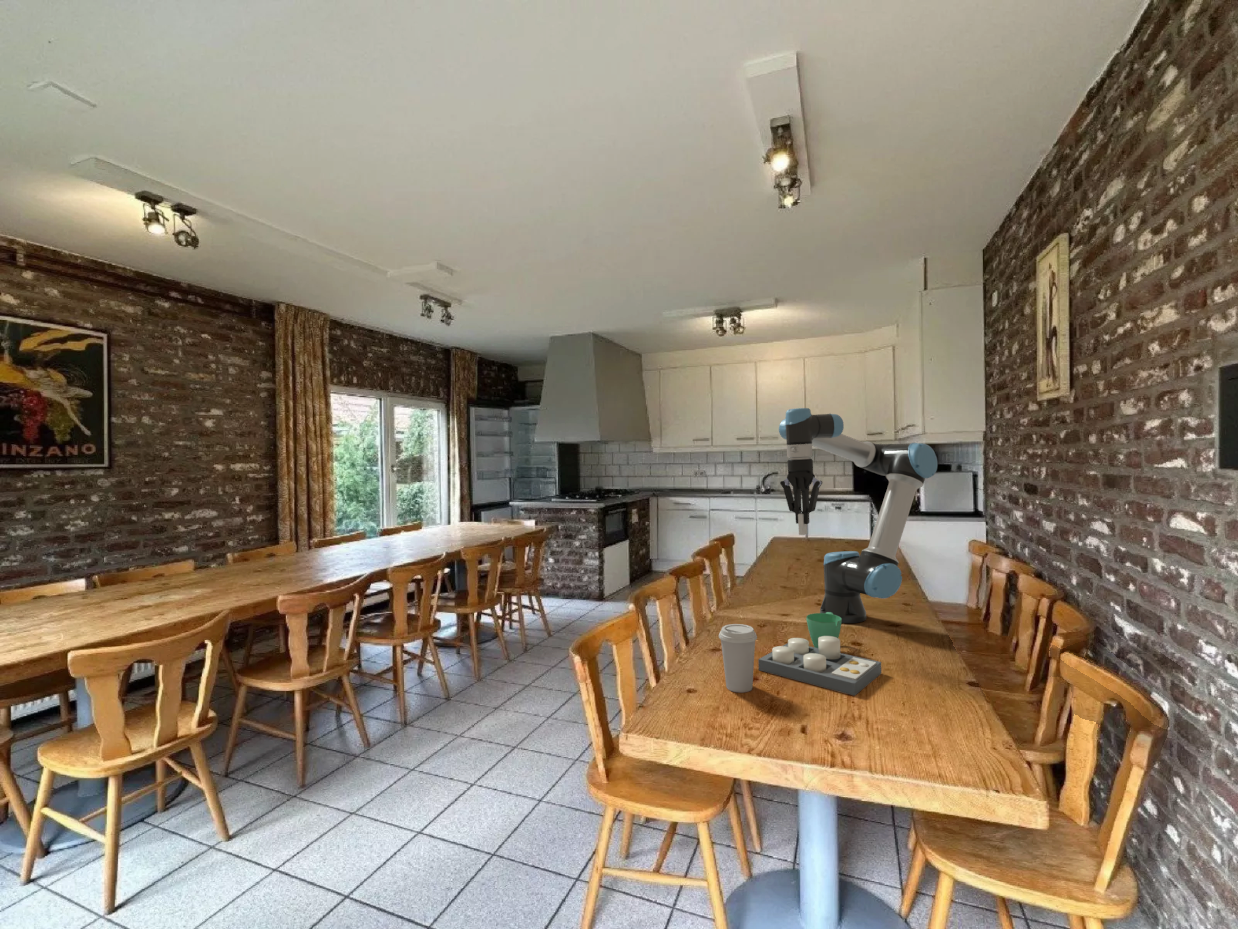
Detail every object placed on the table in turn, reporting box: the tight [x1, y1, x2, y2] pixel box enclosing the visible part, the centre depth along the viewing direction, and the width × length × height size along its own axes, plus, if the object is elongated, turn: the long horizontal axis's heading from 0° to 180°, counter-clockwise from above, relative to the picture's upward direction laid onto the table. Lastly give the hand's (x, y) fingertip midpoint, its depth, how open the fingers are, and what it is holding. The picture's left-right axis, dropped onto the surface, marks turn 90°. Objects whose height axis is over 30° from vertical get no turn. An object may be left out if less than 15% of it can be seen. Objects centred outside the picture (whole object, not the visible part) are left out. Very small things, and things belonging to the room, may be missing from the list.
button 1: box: [771, 645, 794, 665], centre depth 156 cm, size 6×6×4 cm
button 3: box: [803, 653, 826, 673], centre depth 149 cm, size 6×6×4 cm
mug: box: [805, 612, 842, 648], centre depth 171 cm, size 15×10×10 cm
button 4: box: [818, 636, 841, 659], centre depth 156 cm, size 6×6×4 cm
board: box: [758, 642, 882, 697], centre depth 153 cm, size 18×26×4 cm
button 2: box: [787, 637, 810, 655], centre depth 162 cm, size 6×6×4 cm
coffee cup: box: [718, 623, 758, 694], centre depth 145 cm, size 10×10×15 cm
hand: (803, 534), depth 177 cm, fingers closed
